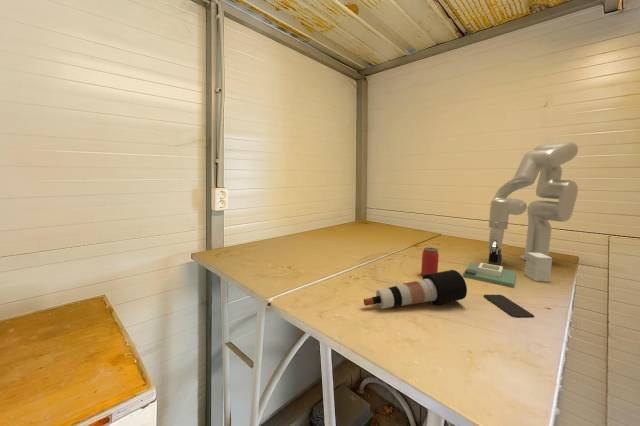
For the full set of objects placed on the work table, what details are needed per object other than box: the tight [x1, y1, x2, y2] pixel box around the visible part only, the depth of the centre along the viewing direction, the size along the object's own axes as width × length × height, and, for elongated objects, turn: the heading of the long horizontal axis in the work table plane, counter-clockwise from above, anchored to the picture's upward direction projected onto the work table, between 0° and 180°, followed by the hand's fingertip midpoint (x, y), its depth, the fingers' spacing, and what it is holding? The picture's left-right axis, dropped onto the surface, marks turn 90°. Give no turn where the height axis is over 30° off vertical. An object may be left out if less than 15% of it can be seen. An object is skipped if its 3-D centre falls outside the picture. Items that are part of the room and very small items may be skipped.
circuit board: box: [462, 263, 517, 288], centre depth 116 cm, size 18×18×2 cm
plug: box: [487, 247, 503, 266], centre depth 128 cm, size 4×5×9 cm
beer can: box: [420, 247, 440, 277], centre depth 116 cm, size 7×7×12 cm
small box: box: [524, 252, 553, 283], centre depth 113 cm, size 8×6×10 cm
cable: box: [363, 269, 468, 310], centre depth 89 cm, size 10×34×10 cm, turn 101°
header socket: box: [478, 262, 504, 278], centre depth 116 cm, size 8×8×2 cm
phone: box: [483, 294, 535, 319], centre depth 89 cm, size 7×1×15 cm
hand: (494, 259), depth 128 cm, fingers open, 9 cm apart
